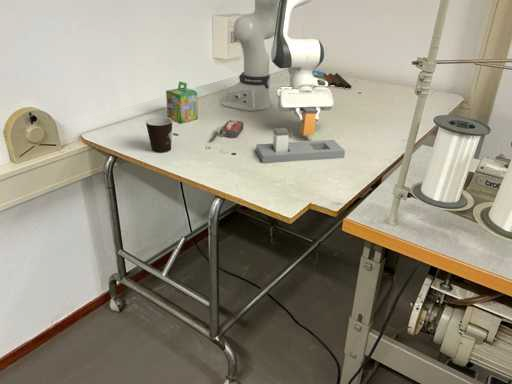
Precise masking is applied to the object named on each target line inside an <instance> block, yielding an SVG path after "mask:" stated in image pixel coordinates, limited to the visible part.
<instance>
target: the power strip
mask: <svg viewBox="0 0 512 384" xmlns="http://www.w3.org/2000/svg"><path fill="white" fill-rule="evenodd" d="M255 148H256V150H255V151H256V153H257V155H258V157H259V158H260V160H261V162H262V164H269V163H270V164H272V163H273V164H274V163H284V162H285V163H286V162H297V161H298V162H301V161H317V160H330V159H331V160H333V159H343V158H345V153H346V150H345V149H344V148H343V147H342V146H341V145H340V144H339V143H338V142H336V140H334V139H325V140H311V141H310V140H309V141H307V140H306V141H292V142H290V141H288V152H275V153H274V151H273V142H272V143H257V144H256V147H255Z"/></svg>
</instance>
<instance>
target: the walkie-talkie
mask: <svg viewBox="0 0 512 384" xmlns="http://www.w3.org/2000/svg"><path fill="white" fill-rule="evenodd" d="M244 127H245V126H244V122H243V121H241V120H232V119H230V120H227V122H226V123H225V124H224V125H222V126H218V127H217V128H216V129H215V130H214V134H213V136H212V137H211V138H210V139H209V142H211V143H212V142H213V141H214V140H215V139H216V138H217V137H222V138H223V137H224V138H231V139H238V137H239V136H240V134H241V133H242V131H243V130H244Z"/></svg>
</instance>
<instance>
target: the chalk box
mask: <svg viewBox="0 0 512 384" xmlns="http://www.w3.org/2000/svg"><path fill="white" fill-rule="evenodd" d="M187 85H188V83H187V82H183V81H179V82H178V86H177V88H173V89H168V90H165V96H166V114H167V118H170V119H172V121H175V122H176V123H178V124H184V123H188V122H191V121H195V120H198V119H199V114H198V112H199V110H198V91H196V90H194V89H190V88H188V87H187ZM182 86H183V87H182Z"/></svg>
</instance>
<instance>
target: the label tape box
mask: <svg viewBox="0 0 512 384" xmlns="http://www.w3.org/2000/svg"><path fill="white" fill-rule="evenodd" d="M312 73H314V74H313V76H314V77H315V78H318V79H321V80H324V81H326V79H325V78H323V74H324V73H325V72H324V71H318V70H315V69H314V70H313V72H312ZM316 74H318V75H316Z"/></svg>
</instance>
